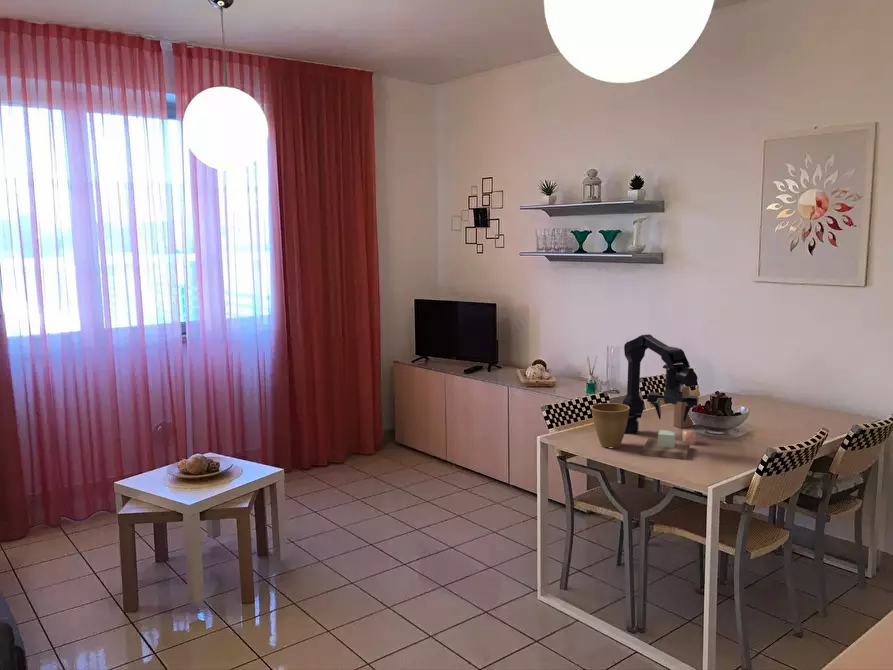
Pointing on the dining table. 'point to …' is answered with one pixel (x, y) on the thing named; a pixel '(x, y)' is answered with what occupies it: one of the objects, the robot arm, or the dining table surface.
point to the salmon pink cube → (689, 436)
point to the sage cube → (666, 438)
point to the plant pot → (610, 423)
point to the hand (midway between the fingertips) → (672, 420)
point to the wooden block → (682, 411)
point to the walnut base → (666, 449)
